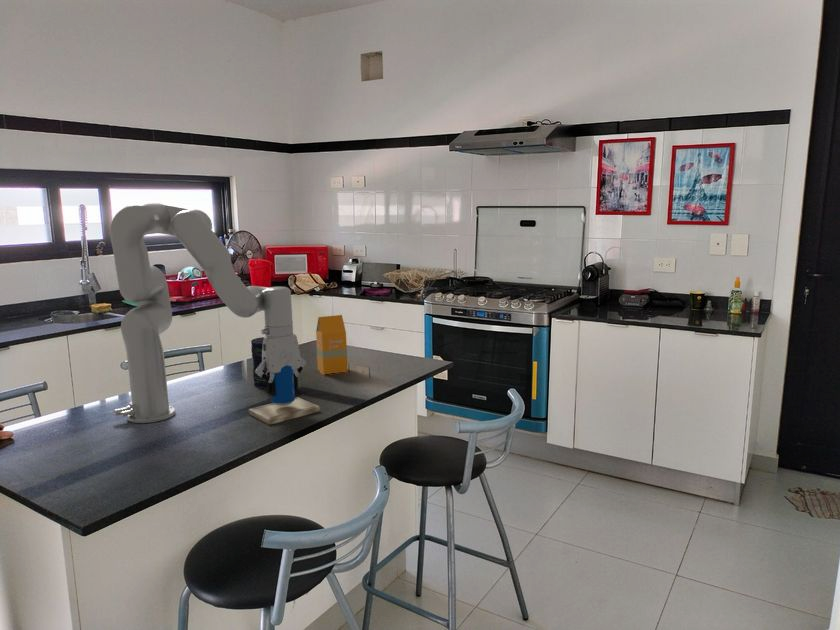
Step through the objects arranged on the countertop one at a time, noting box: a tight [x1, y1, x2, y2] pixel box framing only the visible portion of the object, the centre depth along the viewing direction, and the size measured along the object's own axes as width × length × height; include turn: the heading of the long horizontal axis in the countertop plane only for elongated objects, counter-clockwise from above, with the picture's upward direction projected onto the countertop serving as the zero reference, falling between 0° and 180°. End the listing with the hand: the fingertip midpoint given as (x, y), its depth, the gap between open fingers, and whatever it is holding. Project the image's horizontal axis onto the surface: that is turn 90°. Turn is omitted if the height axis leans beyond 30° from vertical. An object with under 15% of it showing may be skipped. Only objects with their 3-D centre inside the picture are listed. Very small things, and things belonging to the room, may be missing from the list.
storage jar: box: [250, 336, 267, 388], centre depth 207 cm, size 10×10×15 cm
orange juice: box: [315, 314, 348, 376], centre depth 220 cm, size 8×9×20 cm
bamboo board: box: [248, 396, 320, 426], centre depth 179 cm, size 16×12×2 cm
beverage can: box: [271, 364, 296, 405], centre depth 177 cm, size 6×6×12 cm
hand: (282, 392), depth 178 cm, fingers closed on beverage can, 6 cm apart
